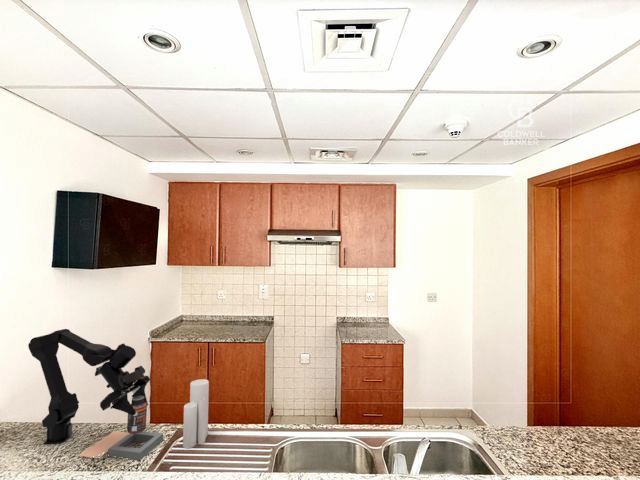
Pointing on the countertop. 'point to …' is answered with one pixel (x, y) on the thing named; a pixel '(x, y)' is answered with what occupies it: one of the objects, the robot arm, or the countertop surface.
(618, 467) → the countertop surface
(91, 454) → the terracotta mat
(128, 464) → the countertop surface
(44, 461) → the countertop surface
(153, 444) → the filter housing collar
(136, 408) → the supplement bottle
